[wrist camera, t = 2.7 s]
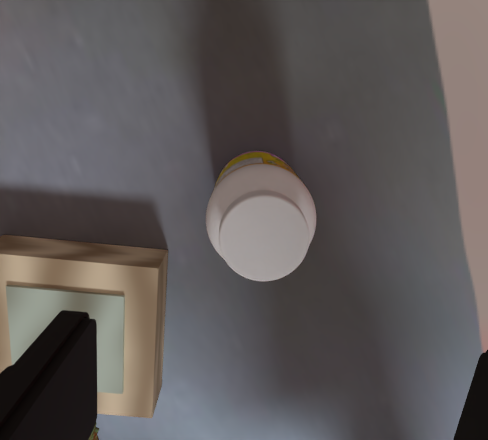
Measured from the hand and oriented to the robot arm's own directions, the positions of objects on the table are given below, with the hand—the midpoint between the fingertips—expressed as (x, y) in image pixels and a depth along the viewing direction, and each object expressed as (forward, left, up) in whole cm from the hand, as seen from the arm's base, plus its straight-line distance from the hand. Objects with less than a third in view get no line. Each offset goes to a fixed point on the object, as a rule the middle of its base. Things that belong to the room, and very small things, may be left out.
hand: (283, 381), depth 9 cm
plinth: (+14, +13, -24) cm, 30 cm away
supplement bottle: (0, 0, -24) cm, 24 cm away
